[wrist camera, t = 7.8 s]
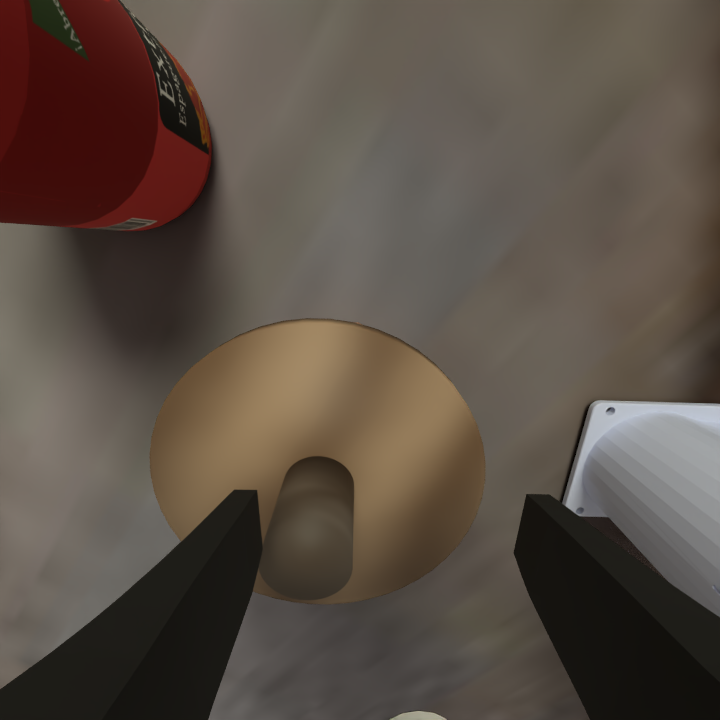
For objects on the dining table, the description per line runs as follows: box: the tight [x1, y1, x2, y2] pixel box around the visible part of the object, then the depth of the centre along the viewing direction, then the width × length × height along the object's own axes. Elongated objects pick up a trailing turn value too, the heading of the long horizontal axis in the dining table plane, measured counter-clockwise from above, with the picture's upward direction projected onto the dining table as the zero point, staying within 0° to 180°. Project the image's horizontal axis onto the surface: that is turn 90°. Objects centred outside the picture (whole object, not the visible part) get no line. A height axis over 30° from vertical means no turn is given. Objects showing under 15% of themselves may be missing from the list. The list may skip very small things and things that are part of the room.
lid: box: [150, 318, 485, 604], centre depth 14 cm, size 15×15×5 cm
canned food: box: [0, 0, 212, 231], centre depth 10 cm, size 8×8×11 cm
